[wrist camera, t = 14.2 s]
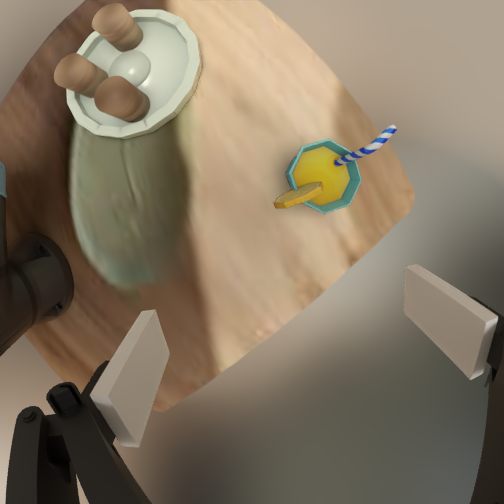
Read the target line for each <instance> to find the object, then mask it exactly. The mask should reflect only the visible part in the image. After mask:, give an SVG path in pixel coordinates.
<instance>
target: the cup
mask: <svg viewBox="0 0 504 504" xmlns="http://www.w3.org/2000/svg"><path fill="white" fill-rule="evenodd" d="M395 131H396V127H395V126H394V125H392V124H391V125H390V126H388V127H387V128H386V129H385V130H384V131H383V132H382V133H381V134H380V135H379V136H378V137H377V138H376V139H375V140H374V141H372V142H371V143H370V144H369V145H367V146H365V147H363V148H361V149H359V150H357V151H354V152H351V151H349V150H348V149H346V148H344V147H343V146H341V145H339V144H337V143H336V142H334V141H332V140H330V139H326V140H323V141H319V142H316V143H312V144H309V145H306V146H302V147H301V149H300V151H299V153H298V155H297V156H296V157H295V158H294V159H293V160H292V161H291V163H290V165H289V168H288V170H287V172H286V176H287V179H288V182H289V185H290V188H291V189H292V190H290V191H289V192H287V193H285V194H283V195H281V196H279V197H278V198H277V199H276V200H275V202H274V203H273V204H274V206H275V208H288V207H291V206H294V205H297V204H300V203H303V204H305V205H307V206H309V207H311V208H313V209H315V210H317V211H319V212H321V213H323V214H326V213H329V212H331V211H334V210H337V209H340V208H343V207H346V206H349V205H350V204H351V202H352V200H353V197H354V195H355V193H356V191H357V189H358V187H359V185H360V183H361V181H362V179H361V176H360V172H359V169H358V166H357V163H356V159H358V158H361V157H363V156H366V155H368V154H371V153H372V152H374V151H376V150H378V149H379V148H380V147H381V146H382V145H383V144H384V143H385V142H386V141H387V140H388V139H389V138H390V137H391V136H392V135H393V133H394V132H395Z"/></svg>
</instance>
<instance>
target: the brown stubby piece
mask: <svg viewBox="0 0 504 504" xmlns="http://www.w3.org/2000/svg"><path fill="white" fill-rule="evenodd" d="M94 102H95V105H96V107H97V109H98V110H99V111H101V112H103V113H106V114H108V115H111V116H113V117H116V118H118V119H121V120H123V121H126V122H129V123H136V122H139V121H141V120H142V119H143V118H145V117H146V115H147V114H148V112H149V109H150V100H149V98H148V96H147V95H146V94H145V93H143V92H142V91H141V90H139V89H138V88H137V87H136V86H134V85H133V84H132V83H130V82H129V81H128V80H126V79H125V78H123V77H121V76H111V77H109V78H107V79H105V80H104V81H103V82H102V83H101V84H100V85H99V86H98V88H97V90H96V92H95V96H94Z"/></svg>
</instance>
